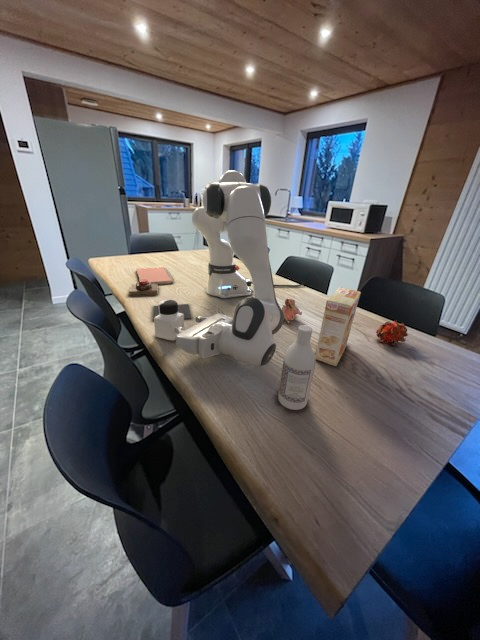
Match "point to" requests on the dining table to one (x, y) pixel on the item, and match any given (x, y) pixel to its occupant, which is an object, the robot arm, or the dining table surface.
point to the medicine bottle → (168, 320)
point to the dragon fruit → (392, 332)
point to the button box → (143, 289)
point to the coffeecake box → (336, 325)
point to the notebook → (155, 275)
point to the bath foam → (297, 371)
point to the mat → (181, 309)
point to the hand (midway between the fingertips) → (186, 323)
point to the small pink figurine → (290, 310)
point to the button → (143, 282)
